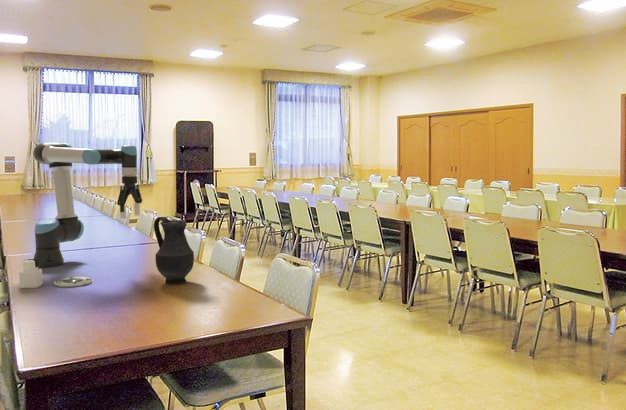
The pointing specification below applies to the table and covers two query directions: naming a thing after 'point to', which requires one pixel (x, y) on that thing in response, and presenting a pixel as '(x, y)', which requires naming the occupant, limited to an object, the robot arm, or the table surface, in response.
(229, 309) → the table surface
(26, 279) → the medicine bottle
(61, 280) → the flange
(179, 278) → the pitcher
